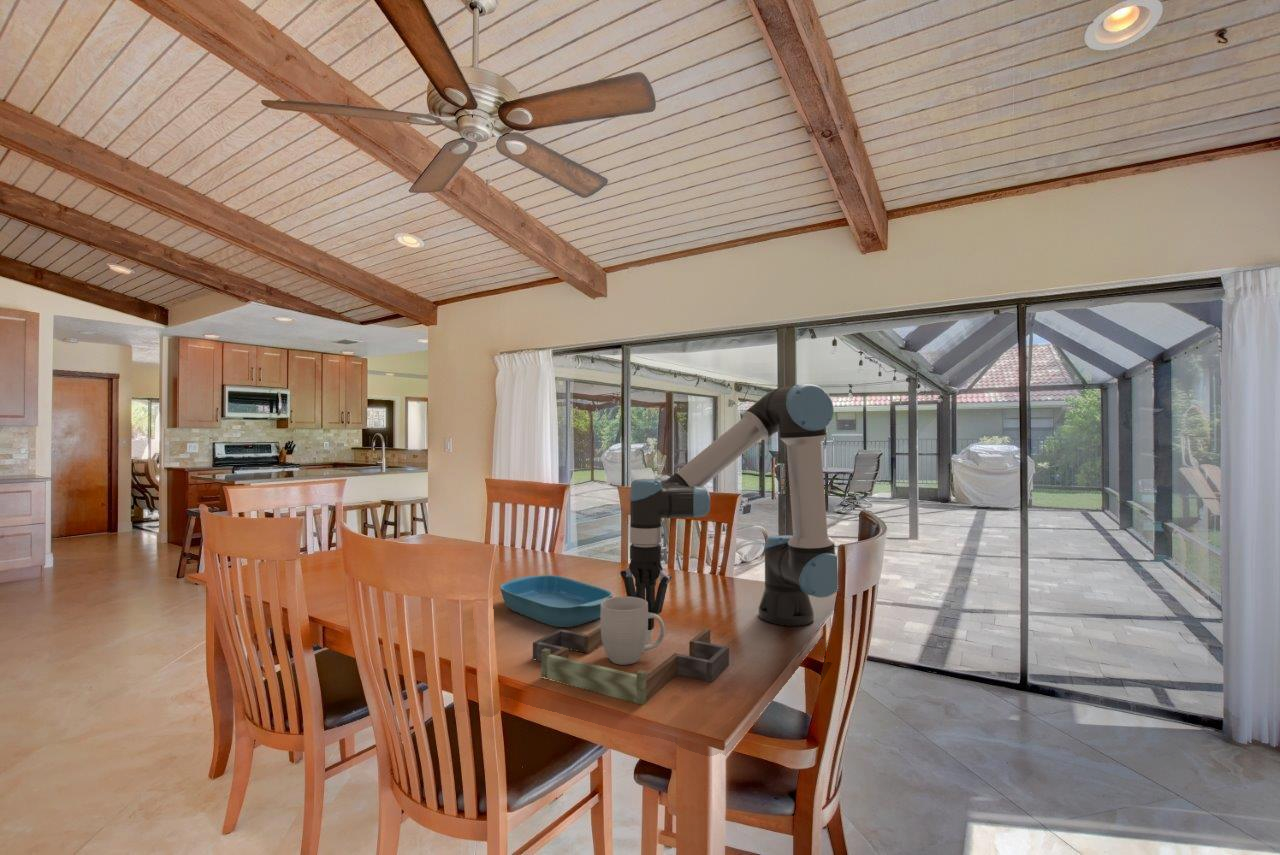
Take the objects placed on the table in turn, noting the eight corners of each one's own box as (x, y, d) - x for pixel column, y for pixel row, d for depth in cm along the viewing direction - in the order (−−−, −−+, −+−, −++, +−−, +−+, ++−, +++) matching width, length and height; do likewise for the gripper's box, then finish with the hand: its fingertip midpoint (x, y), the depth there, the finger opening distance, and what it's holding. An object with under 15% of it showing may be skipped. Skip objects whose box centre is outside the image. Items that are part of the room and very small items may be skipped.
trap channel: (741, 651, 139) (741, 626, 139) (680, 714, 109) (680, 682, 109) (599, 623, 159) (599, 601, 159) (512, 671, 128) (512, 643, 128)
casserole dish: (627, 617, 165) (627, 592, 165) (566, 638, 148) (566, 610, 148) (546, 592, 190) (546, 570, 190) (486, 608, 173) (486, 584, 173)
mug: (661, 649, 141) (661, 594, 141) (667, 667, 130) (667, 609, 130) (599, 651, 139) (599, 596, 139) (600, 670, 128) (600, 610, 128)
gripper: (677, 543, 140) (676, 642, 140) (629, 538, 146) (629, 632, 146) (663, 549, 133) (662, 652, 133) (614, 543, 139) (613, 642, 139)
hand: (645, 642), depth 140 cm, fingers closed
